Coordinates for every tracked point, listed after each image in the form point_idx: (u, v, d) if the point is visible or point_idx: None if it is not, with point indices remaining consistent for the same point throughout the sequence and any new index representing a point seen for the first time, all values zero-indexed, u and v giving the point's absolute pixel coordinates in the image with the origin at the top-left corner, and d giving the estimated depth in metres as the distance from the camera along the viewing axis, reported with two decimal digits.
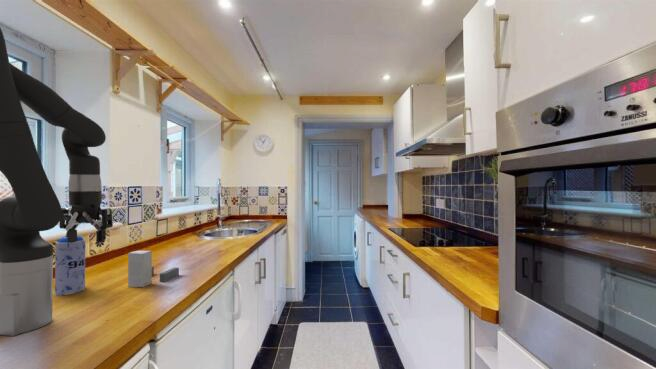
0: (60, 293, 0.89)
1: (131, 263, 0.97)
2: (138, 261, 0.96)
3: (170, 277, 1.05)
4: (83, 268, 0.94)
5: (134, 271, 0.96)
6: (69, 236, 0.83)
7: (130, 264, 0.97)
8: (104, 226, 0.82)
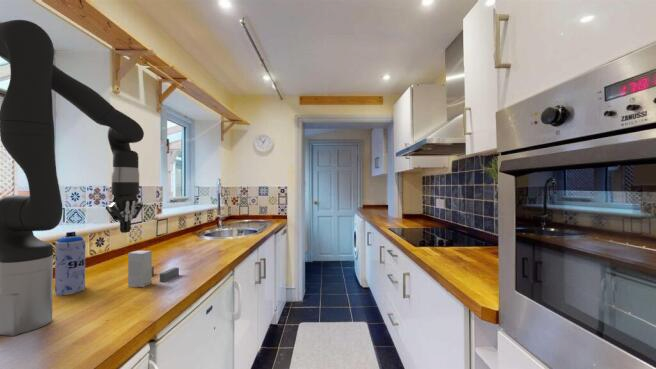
0: (60, 293, 0.89)
1: (131, 263, 0.97)
2: (138, 261, 0.96)
3: (170, 277, 1.05)
4: (83, 268, 0.94)
5: (134, 271, 0.96)
6: (127, 226, 0.92)
7: (130, 264, 0.97)
8: (135, 216, 0.95)
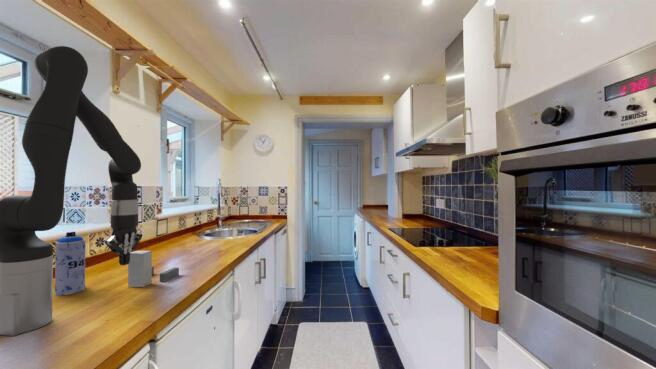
0: (60, 293, 0.89)
1: (131, 263, 0.97)
2: (138, 261, 0.96)
3: (170, 277, 1.05)
4: (83, 268, 0.94)
5: (134, 271, 0.96)
6: (126, 258, 0.92)
7: (130, 264, 0.97)
8: (134, 247, 0.95)
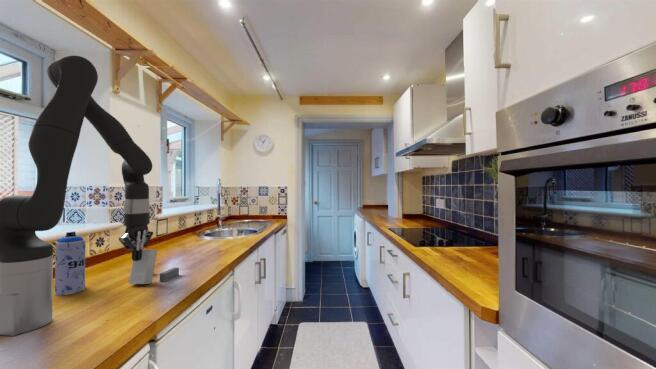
0: (60, 293, 0.89)
1: None
2: (144, 257, 0.99)
3: (170, 277, 1.05)
4: (83, 268, 0.94)
5: (137, 268, 0.98)
6: (138, 255, 0.97)
7: None
8: (146, 244, 1.00)
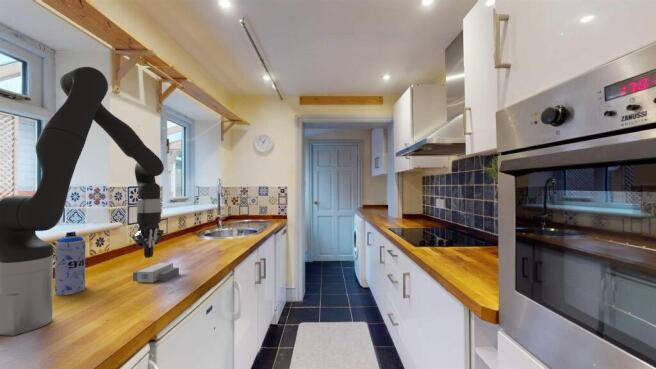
0: (60, 293, 0.89)
1: (156, 265, 1.09)
2: (164, 264, 1.09)
3: (170, 277, 1.05)
4: (83, 268, 0.94)
5: (153, 267, 1.06)
6: (150, 252, 1.02)
7: (155, 265, 1.09)
8: (157, 242, 1.05)
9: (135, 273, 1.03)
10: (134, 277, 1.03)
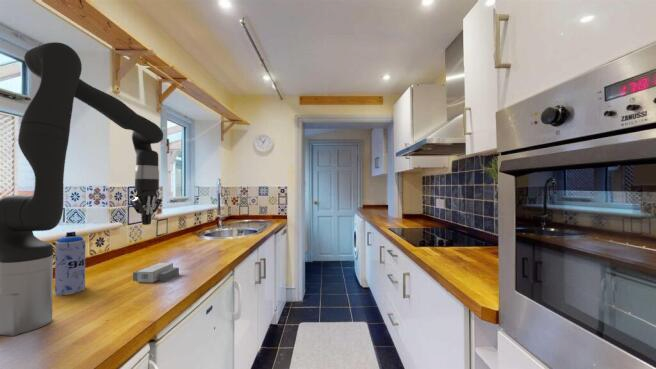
0: (60, 293, 0.89)
1: (156, 265, 1.09)
2: (164, 264, 1.09)
3: (170, 277, 1.05)
4: (83, 268, 0.94)
5: (153, 267, 1.06)
6: (148, 219, 1.01)
7: (155, 265, 1.09)
8: (155, 210, 1.05)
9: (135, 273, 1.03)
10: (134, 277, 1.03)
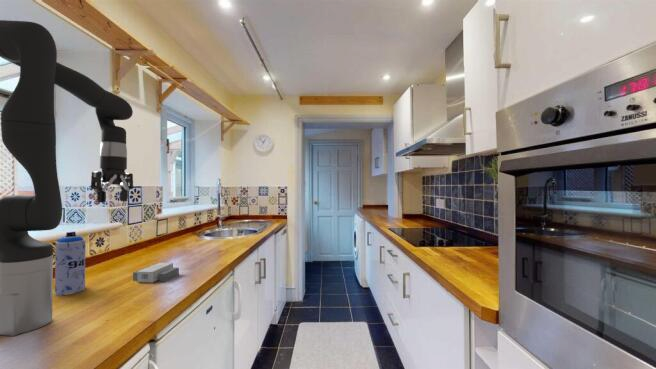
0: (60, 293, 0.89)
1: (156, 265, 1.09)
2: (164, 264, 1.09)
3: (170, 277, 1.05)
4: (83, 268, 0.94)
5: (153, 267, 1.06)
6: (105, 196, 0.92)
7: (155, 265, 1.09)
8: (132, 187, 1.03)
9: (135, 273, 1.03)
10: (134, 277, 1.03)
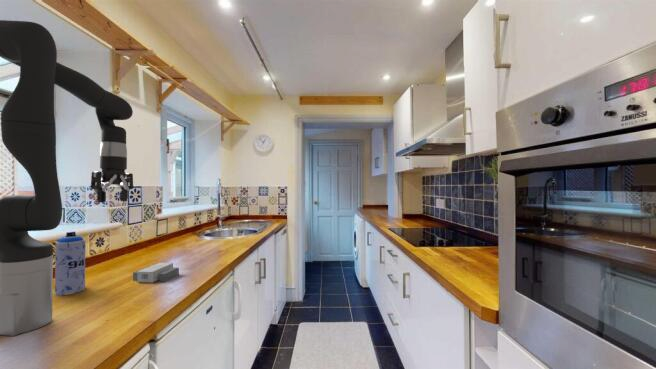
0: (60, 293, 0.89)
1: (156, 265, 1.09)
2: (164, 264, 1.09)
3: (170, 277, 1.05)
4: (83, 268, 0.94)
5: (153, 267, 1.06)
6: (104, 196, 0.92)
7: (155, 265, 1.09)
8: (132, 187, 1.03)
9: (135, 273, 1.03)
10: (134, 277, 1.03)
